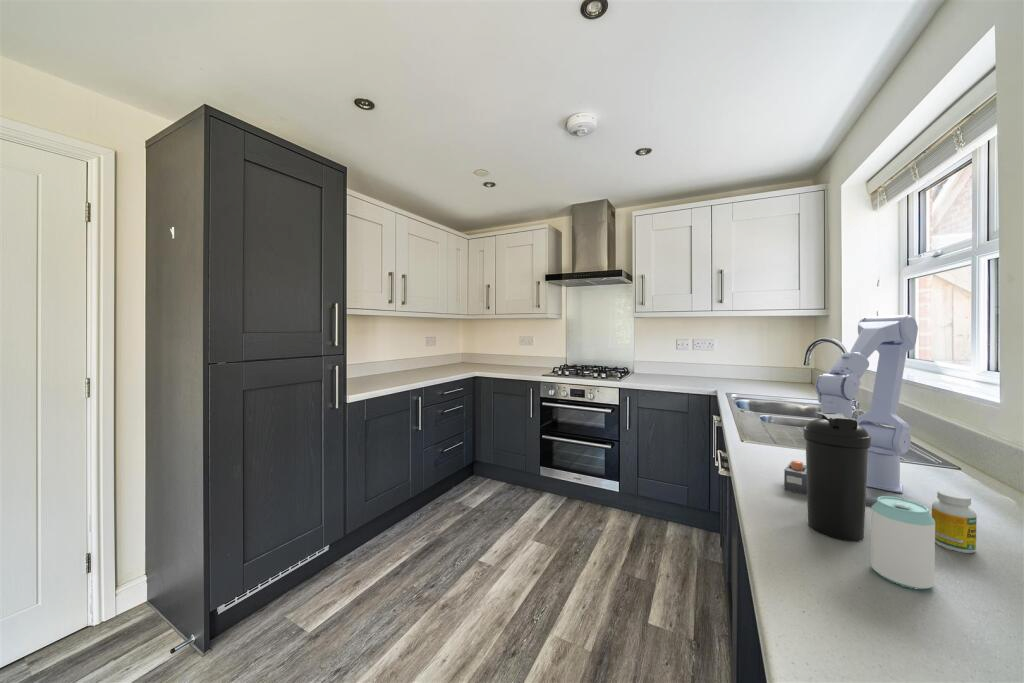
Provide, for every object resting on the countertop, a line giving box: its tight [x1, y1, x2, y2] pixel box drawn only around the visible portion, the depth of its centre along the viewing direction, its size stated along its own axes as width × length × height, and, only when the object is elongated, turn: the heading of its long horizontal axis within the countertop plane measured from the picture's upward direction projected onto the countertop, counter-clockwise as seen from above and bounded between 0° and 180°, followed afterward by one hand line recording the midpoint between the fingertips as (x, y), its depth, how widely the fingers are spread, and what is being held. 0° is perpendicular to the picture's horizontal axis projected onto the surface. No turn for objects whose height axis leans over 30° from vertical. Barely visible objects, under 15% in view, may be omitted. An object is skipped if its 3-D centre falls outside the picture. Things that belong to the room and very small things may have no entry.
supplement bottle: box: [931, 489, 978, 554], centre depth 69 cm, size 5×5×10 cm
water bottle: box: [802, 411, 871, 542], centre depth 75 cm, size 10×10×23 cm
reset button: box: [790, 460, 804, 471], centre depth 96 cm, size 2×2×4 cm
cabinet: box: [783, 462, 807, 496], centre depth 96 cm, size 8×6×5 cm
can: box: [870, 495, 936, 590], centre depth 60 cm, size 7×7×12 cm
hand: (835, 479), depth 91 cm, fingers open, 3 cm apart
